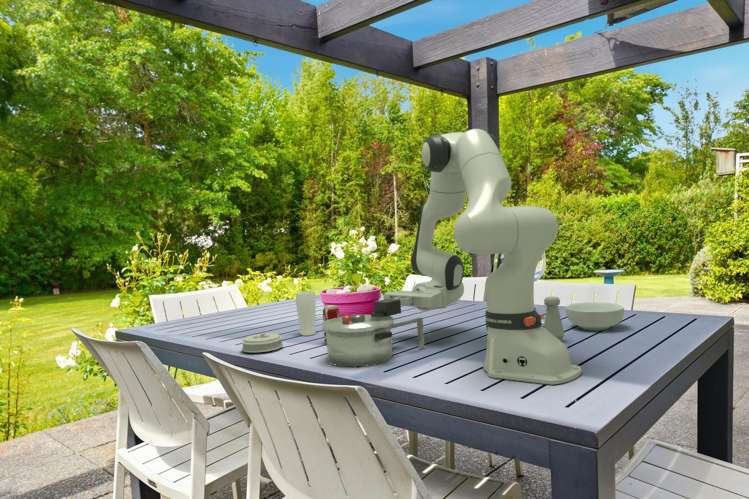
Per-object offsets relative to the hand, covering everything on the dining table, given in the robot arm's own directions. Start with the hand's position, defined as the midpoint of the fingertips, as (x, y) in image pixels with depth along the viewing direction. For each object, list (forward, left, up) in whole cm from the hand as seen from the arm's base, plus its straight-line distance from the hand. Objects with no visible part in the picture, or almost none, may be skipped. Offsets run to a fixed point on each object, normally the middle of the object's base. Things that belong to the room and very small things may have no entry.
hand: (394, 302), depth 153 cm
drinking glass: (+41, +3, -14) cm, 43 cm away
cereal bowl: (-37, -52, -14) cm, 65 cm away
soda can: (+22, +7, -14) cm, 27 cm away
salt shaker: (-35, -29, -14) cm, 47 cm away
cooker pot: (0, +10, -13) cm, 17 cm away
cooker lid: (0, +12, -4) cm, 13 cm away
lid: (+35, +25, -14) cm, 45 cm away
